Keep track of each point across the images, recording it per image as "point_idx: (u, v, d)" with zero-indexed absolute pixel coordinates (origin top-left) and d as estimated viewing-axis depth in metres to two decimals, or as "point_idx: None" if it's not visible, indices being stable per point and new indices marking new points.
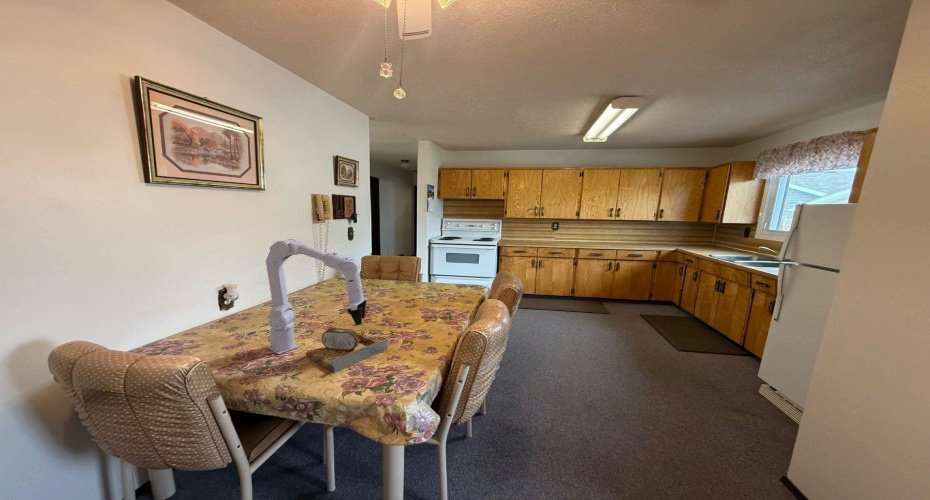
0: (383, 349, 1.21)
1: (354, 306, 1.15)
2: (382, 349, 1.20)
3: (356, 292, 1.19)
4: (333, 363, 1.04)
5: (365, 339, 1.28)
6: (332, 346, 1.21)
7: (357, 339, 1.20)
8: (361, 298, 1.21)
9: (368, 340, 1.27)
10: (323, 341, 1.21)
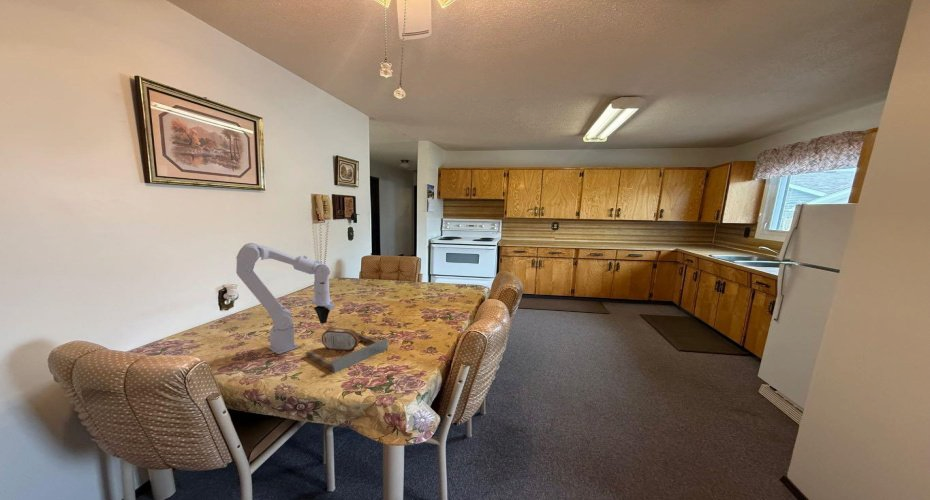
0: (383, 349, 1.21)
1: (333, 306, 1.23)
2: (382, 349, 1.20)
3: (327, 293, 1.26)
4: (333, 363, 1.04)
5: (365, 339, 1.28)
6: (332, 346, 1.21)
7: (357, 339, 1.20)
8: (329, 299, 1.28)
9: (368, 340, 1.27)
10: (323, 341, 1.21)
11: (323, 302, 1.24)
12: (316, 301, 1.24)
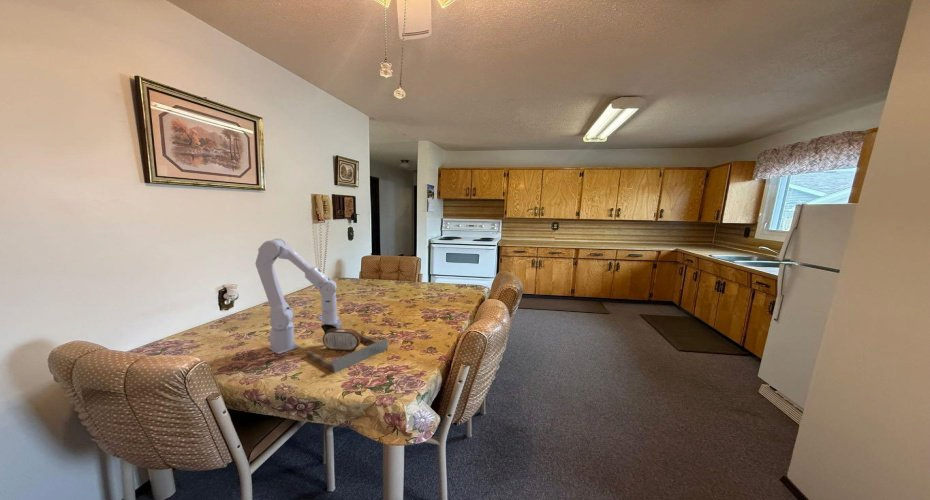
0: (383, 349, 1.21)
1: (340, 324, 1.21)
2: (382, 349, 1.20)
3: (335, 311, 1.24)
4: (333, 363, 1.04)
5: (365, 339, 1.28)
6: (333, 347, 1.20)
7: (359, 339, 1.20)
8: (337, 317, 1.26)
9: (368, 340, 1.27)
10: (324, 341, 1.20)
11: (330, 320, 1.22)
12: (323, 319, 1.22)
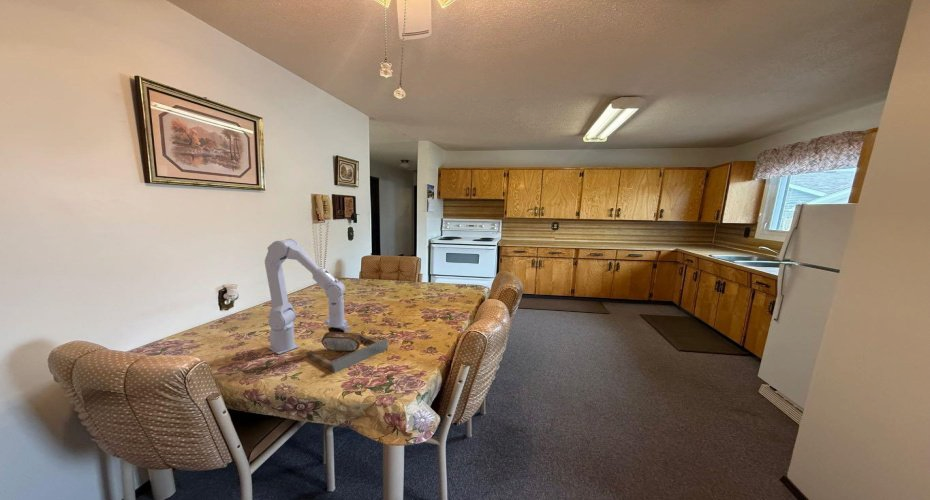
0: (383, 349, 1.21)
1: (348, 327, 1.18)
2: (382, 349, 1.20)
3: (342, 314, 1.20)
4: (333, 363, 1.04)
5: (365, 339, 1.28)
6: (334, 348, 1.19)
7: (359, 341, 1.18)
8: (344, 320, 1.22)
9: (368, 340, 1.27)
10: (324, 344, 1.18)
11: (338, 323, 1.19)
12: (331, 322, 1.19)
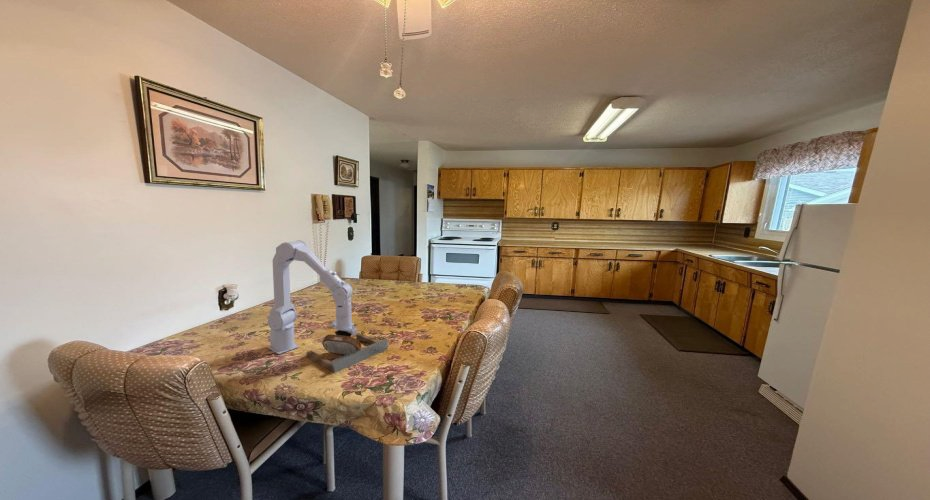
0: (383, 349, 1.21)
1: (356, 330, 1.15)
2: (382, 349, 1.20)
3: (350, 317, 1.18)
4: (333, 363, 1.04)
5: (365, 339, 1.28)
6: (335, 351, 1.17)
7: (358, 346, 1.14)
8: (351, 323, 1.20)
9: (368, 340, 1.27)
10: (325, 347, 1.16)
11: (345, 326, 1.16)
12: (338, 325, 1.16)
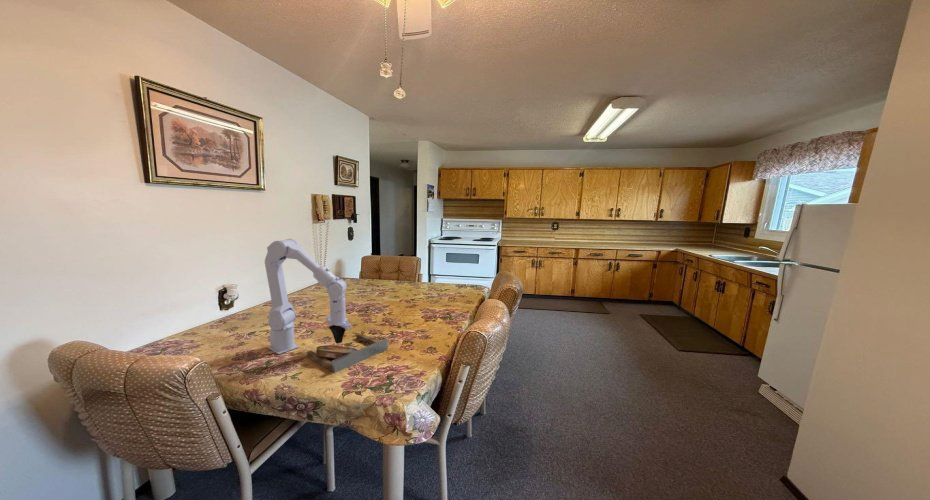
0: (383, 349, 1.21)
1: (349, 325, 1.17)
2: (382, 349, 1.20)
3: (344, 312, 1.20)
4: (333, 363, 1.04)
5: (365, 339, 1.28)
6: None
7: None
8: (345, 318, 1.22)
9: (368, 340, 1.27)
10: None
11: (339, 321, 1.18)
12: (332, 320, 1.18)
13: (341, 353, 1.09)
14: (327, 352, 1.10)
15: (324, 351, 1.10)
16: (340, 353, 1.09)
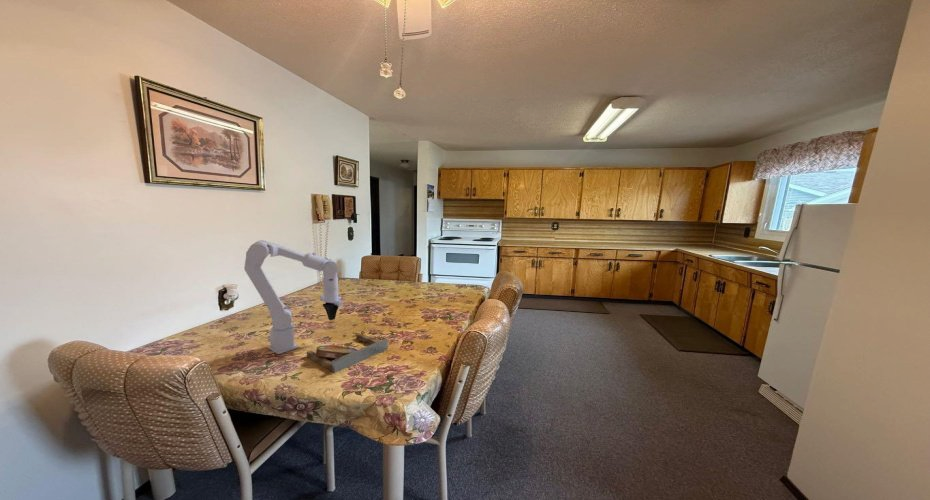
0: (383, 349, 1.21)
1: (342, 302, 1.23)
2: (382, 349, 1.20)
3: (336, 290, 1.26)
4: (333, 363, 1.04)
5: (365, 339, 1.28)
6: None
7: None
8: (338, 296, 1.28)
9: (368, 340, 1.27)
10: None
11: (332, 299, 1.25)
12: (325, 298, 1.25)
13: (341, 353, 1.09)
14: (327, 352, 1.10)
15: (324, 351, 1.10)
16: (340, 353, 1.09)
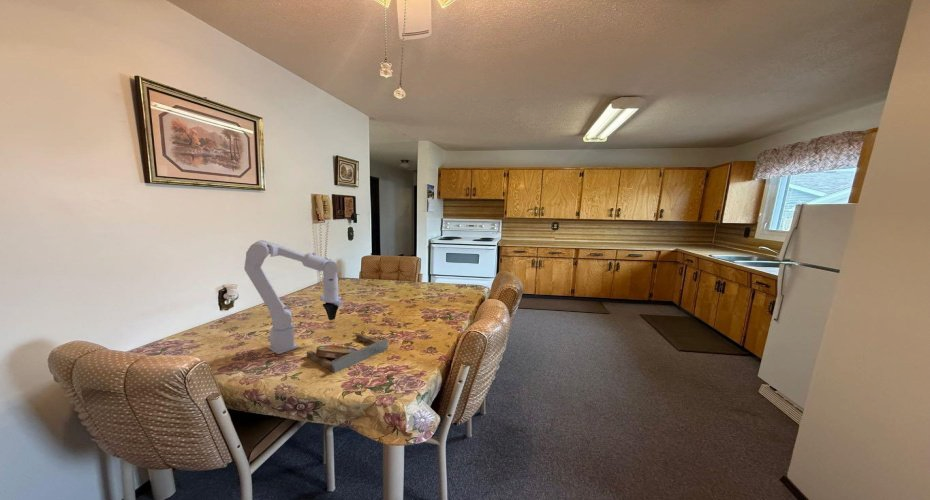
0: (383, 349, 1.21)
1: (342, 302, 1.23)
2: (382, 349, 1.20)
3: (336, 290, 1.26)
4: (333, 363, 1.04)
5: (365, 339, 1.28)
6: None
7: None
8: (338, 296, 1.28)
9: (368, 340, 1.27)
10: None
11: (332, 299, 1.25)
12: (325, 298, 1.25)
13: (341, 353, 1.09)
14: (327, 352, 1.10)
15: (324, 351, 1.10)
16: (340, 353, 1.09)
